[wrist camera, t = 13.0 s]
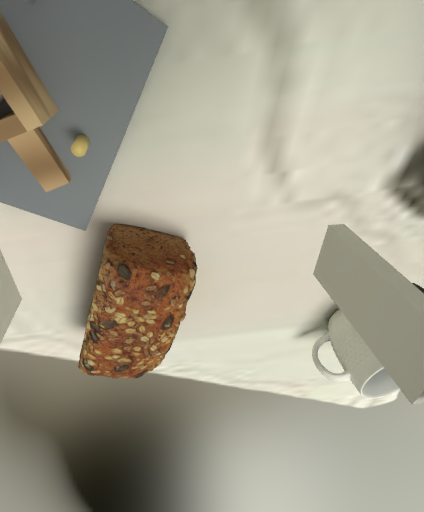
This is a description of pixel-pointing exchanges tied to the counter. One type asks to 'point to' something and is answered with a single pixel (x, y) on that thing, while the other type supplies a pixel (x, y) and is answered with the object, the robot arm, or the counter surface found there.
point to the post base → (79, 94)
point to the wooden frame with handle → (28, 113)
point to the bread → (136, 302)
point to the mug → (354, 360)
